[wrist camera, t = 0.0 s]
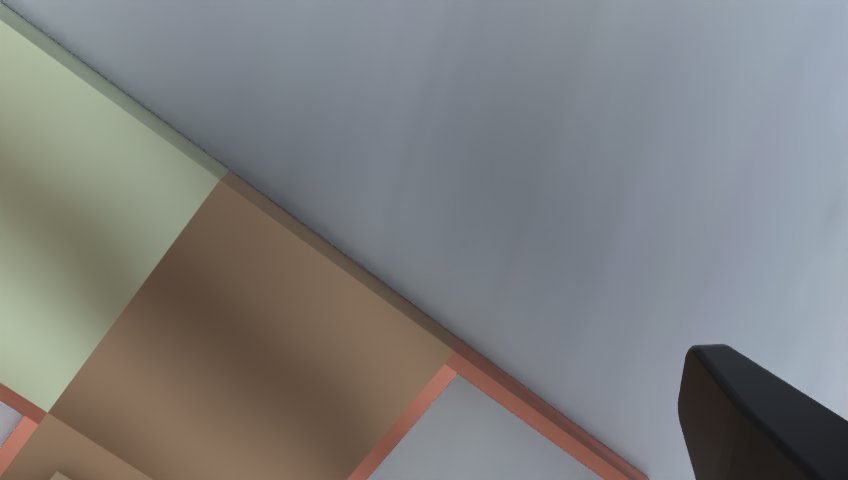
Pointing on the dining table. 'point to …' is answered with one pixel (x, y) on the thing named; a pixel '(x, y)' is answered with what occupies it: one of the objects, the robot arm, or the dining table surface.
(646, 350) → the dining table surface
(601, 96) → the dining table surface
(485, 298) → the dining table surface
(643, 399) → the dining table surface
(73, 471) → the trap deck
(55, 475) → the birch block
